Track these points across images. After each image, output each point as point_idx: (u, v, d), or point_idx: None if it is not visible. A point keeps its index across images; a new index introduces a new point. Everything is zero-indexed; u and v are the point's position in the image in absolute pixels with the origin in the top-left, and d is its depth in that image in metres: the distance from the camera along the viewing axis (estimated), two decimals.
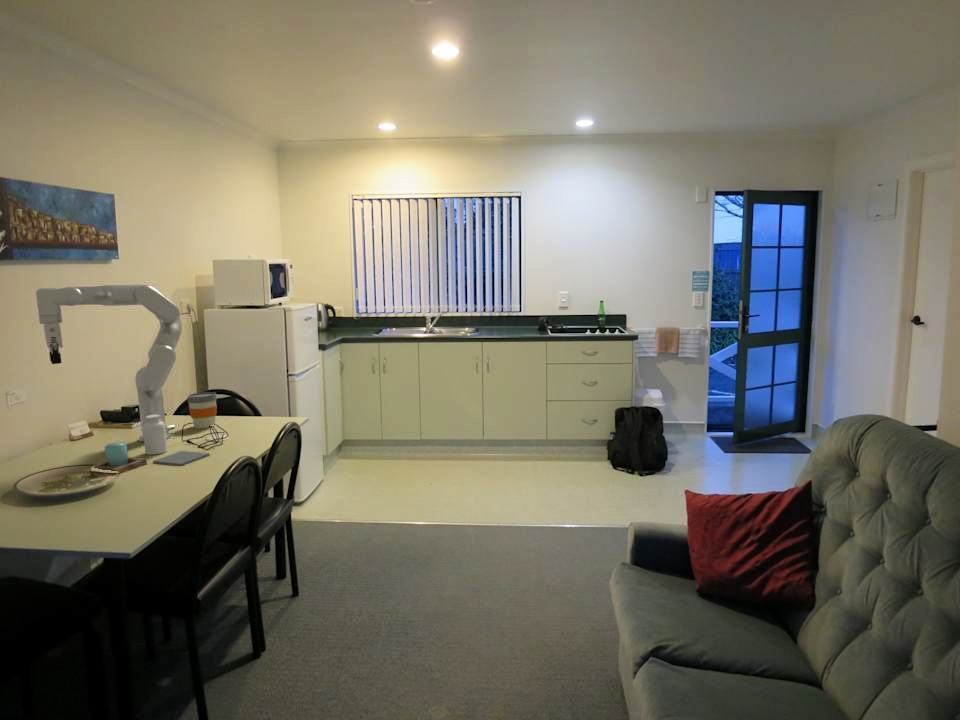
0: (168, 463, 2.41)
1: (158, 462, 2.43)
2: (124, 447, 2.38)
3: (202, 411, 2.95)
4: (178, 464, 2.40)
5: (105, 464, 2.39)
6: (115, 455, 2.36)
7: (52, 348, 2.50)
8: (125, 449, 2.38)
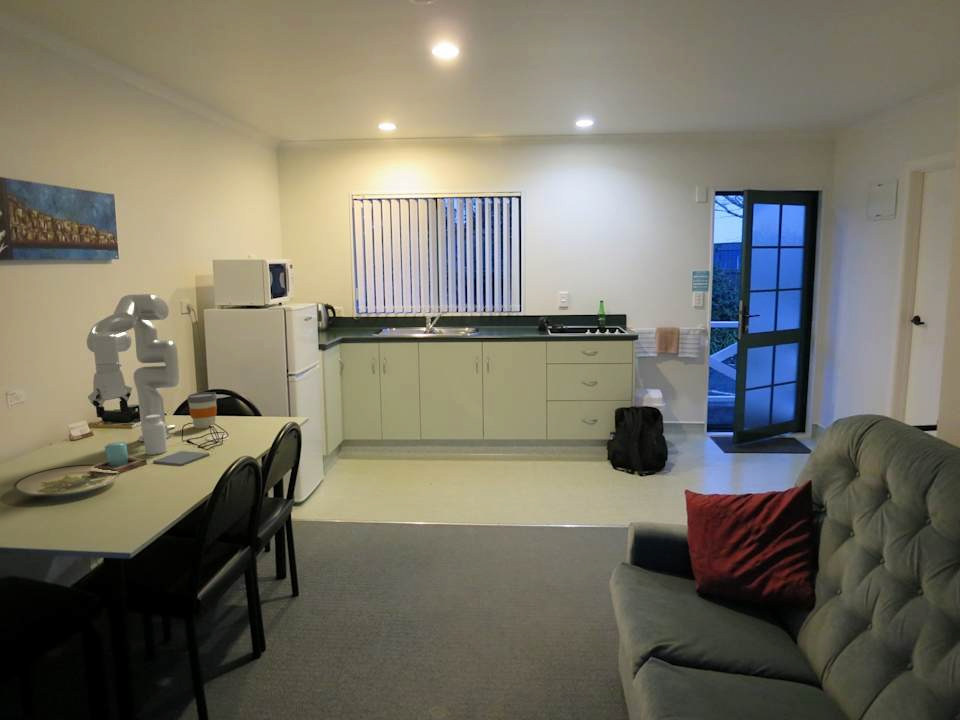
0: (168, 463, 2.41)
1: (158, 462, 2.43)
2: (124, 447, 2.38)
3: (202, 411, 2.95)
4: (178, 464, 2.40)
5: (105, 464, 2.39)
6: (115, 455, 2.36)
7: None
8: (125, 449, 2.38)
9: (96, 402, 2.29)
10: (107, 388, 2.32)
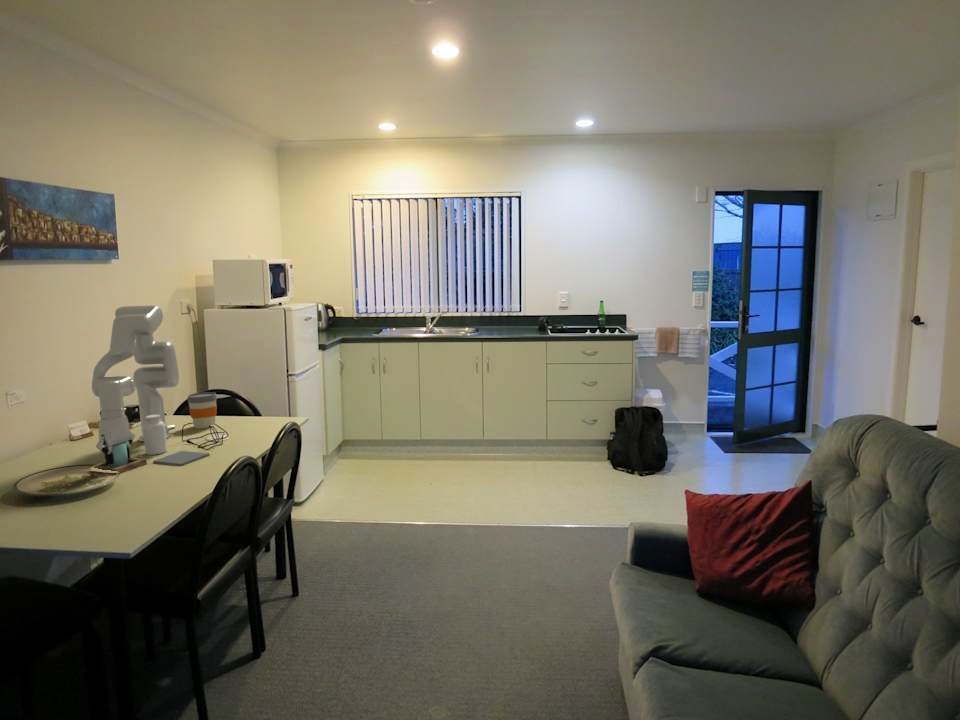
0: (168, 463, 2.41)
1: (158, 462, 2.43)
2: (124, 447, 2.38)
3: (202, 411, 2.95)
4: (178, 464, 2.40)
5: (105, 464, 2.39)
6: (115, 455, 2.36)
7: (132, 440, 2.44)
8: (125, 449, 2.38)
9: (105, 449, 2.33)
10: (112, 434, 2.34)
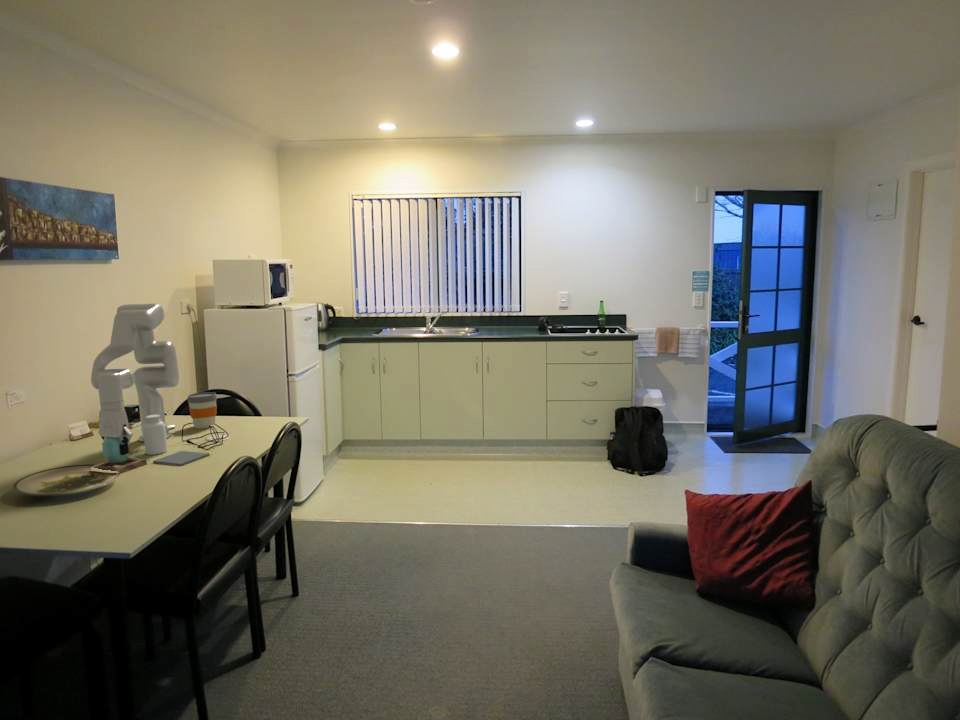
0: (168, 463, 2.41)
1: (158, 462, 2.43)
2: None
3: (202, 411, 2.95)
4: (178, 464, 2.40)
5: (105, 464, 2.39)
6: None
7: None
8: None
9: None
10: None
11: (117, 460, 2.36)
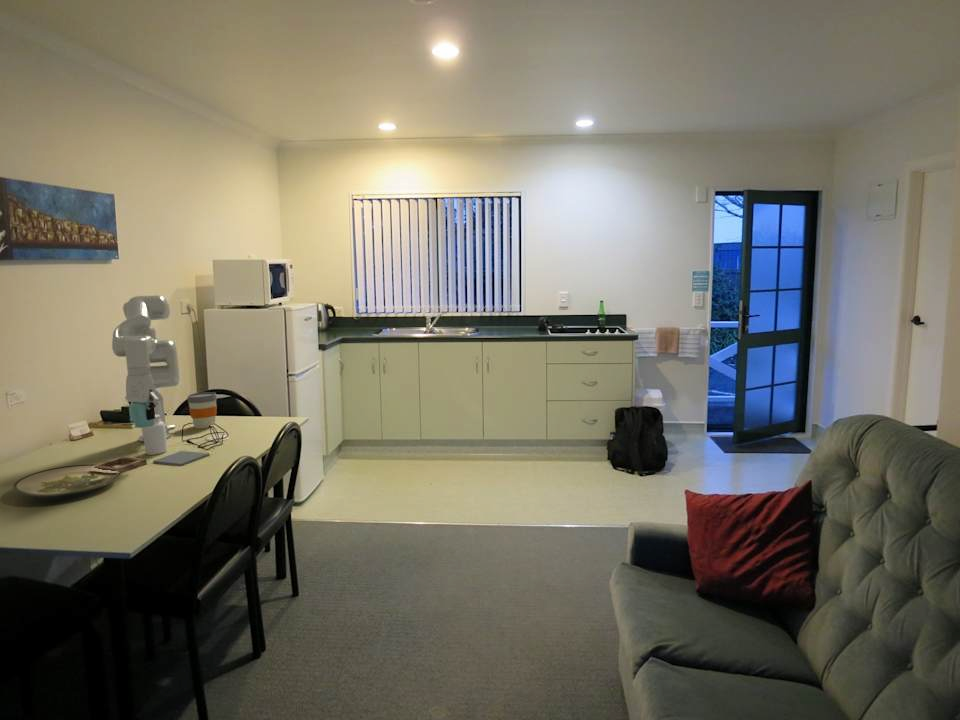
0: (168, 463, 2.41)
1: (158, 462, 2.43)
2: None
3: (202, 411, 2.95)
4: (178, 464, 2.40)
5: (105, 464, 2.39)
6: None
7: None
8: None
9: None
10: None
11: (143, 425, 2.38)
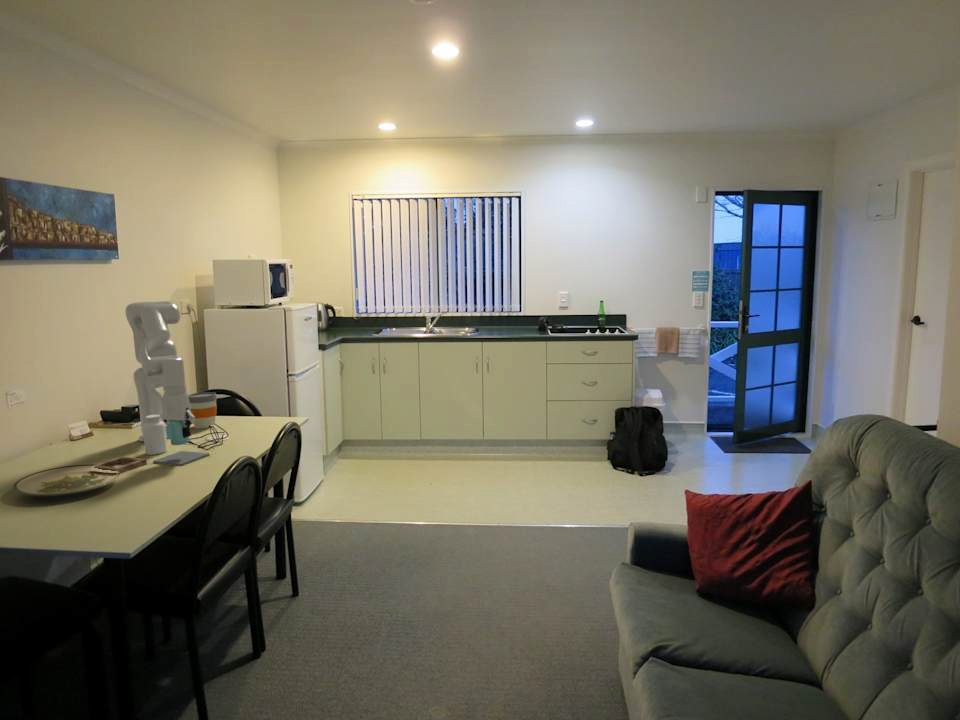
0: (168, 463, 2.41)
1: (158, 462, 2.43)
2: None
3: (202, 411, 2.95)
4: (178, 464, 2.40)
5: (105, 464, 2.39)
6: None
7: None
8: None
9: None
10: None
11: (180, 442, 2.44)
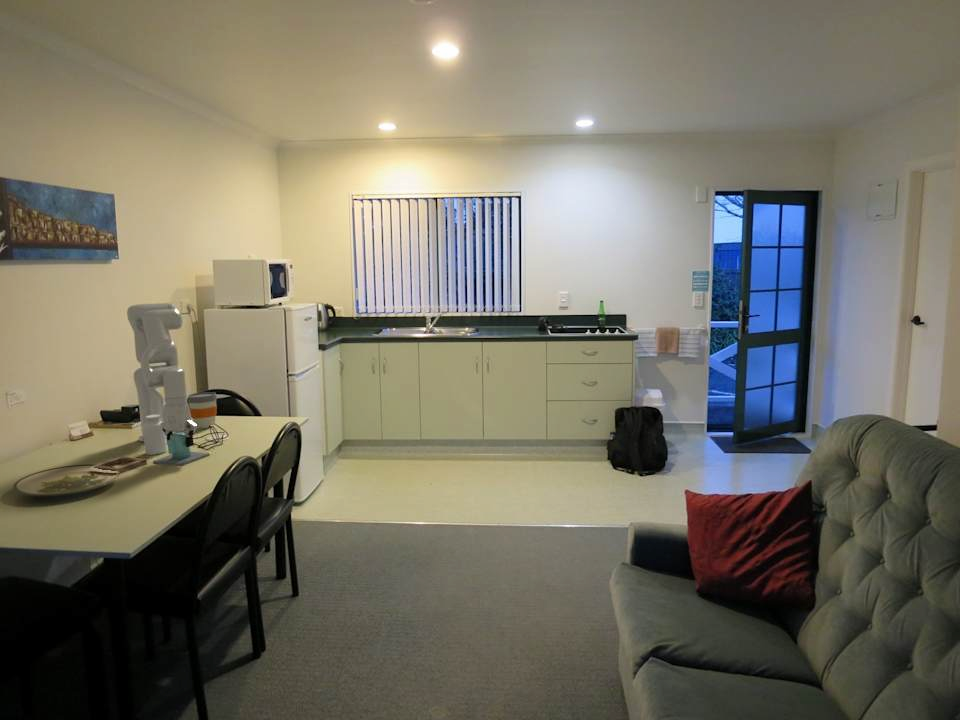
0: (168, 463, 2.41)
1: (158, 462, 2.43)
2: None
3: (202, 411, 2.95)
4: (178, 464, 2.40)
5: (105, 464, 2.39)
6: None
7: None
8: None
9: None
10: None
11: (181, 457, 2.45)
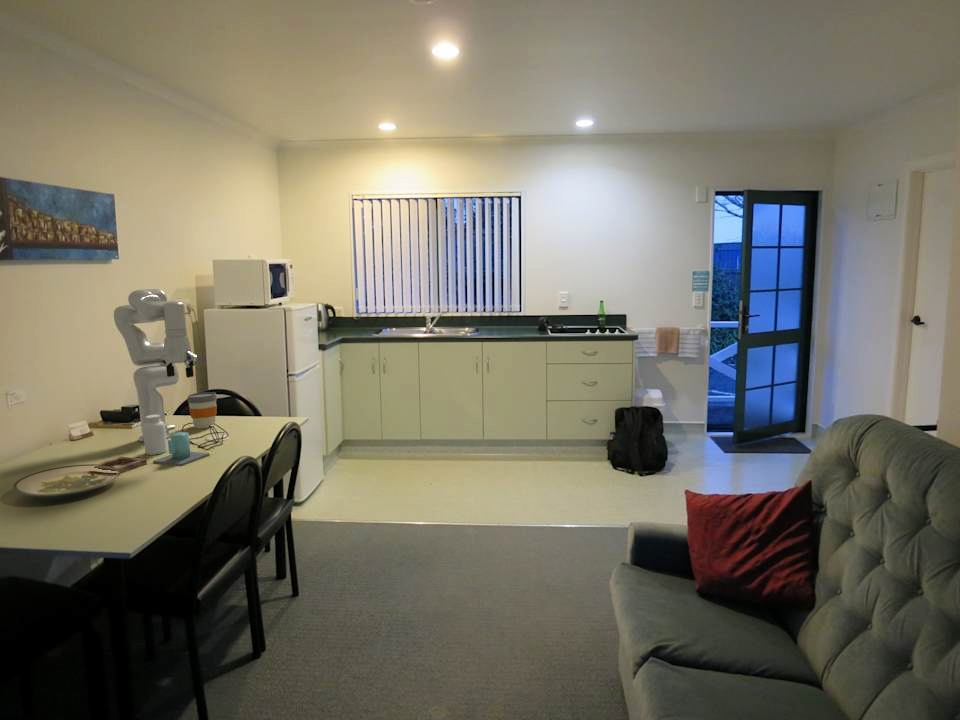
0: (168, 463, 2.41)
1: (158, 462, 2.43)
2: None
3: (202, 411, 2.95)
4: (178, 464, 2.40)
5: (105, 464, 2.39)
6: None
7: None
8: None
9: None
10: None
11: (181, 457, 2.45)
